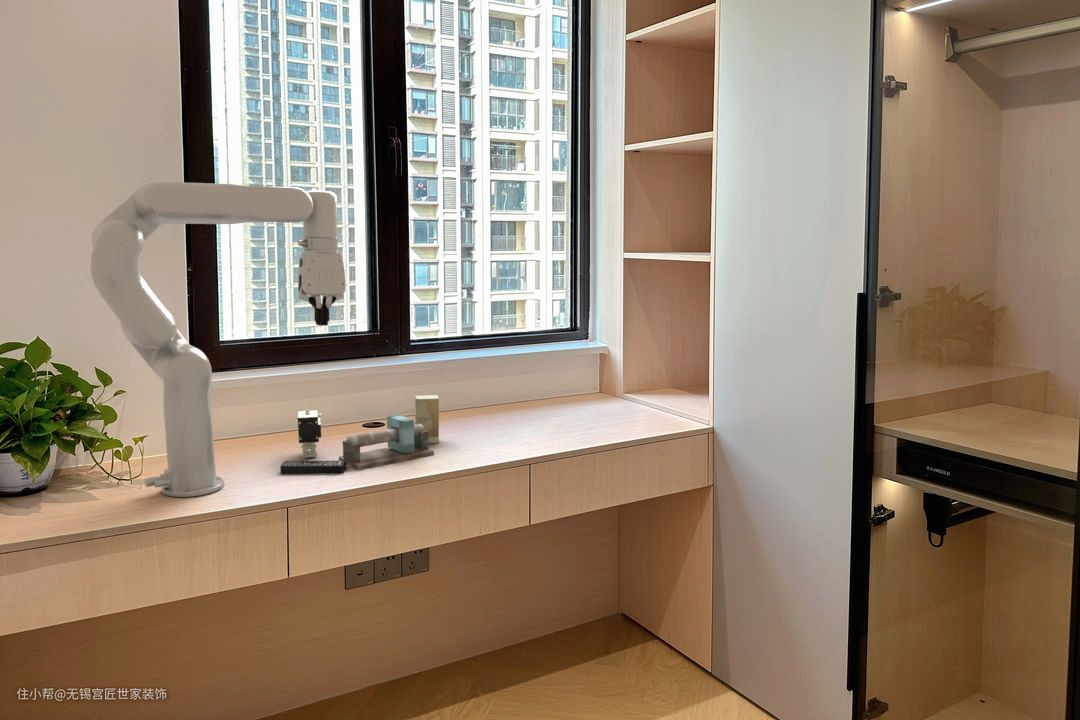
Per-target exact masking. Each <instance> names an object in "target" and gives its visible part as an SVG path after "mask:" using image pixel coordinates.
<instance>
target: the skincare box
mask: <svg viewBox="0 0 1080 720" xmlns="http://www.w3.org/2000/svg"><path fill="white" fill-rule="evenodd" d="M439 413H440V398H439V395H437V394H436V395H434V394H433V395H414V425H418V424H422V425H423V427H424V430H426V431H428V444H439V443H440V439H439V435H440V433H439V432H440V431H439V429H440V428H439V427H440V426H439V425H440V414H439Z"/></svg>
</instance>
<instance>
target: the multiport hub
mask: <svg viewBox="0 0 1080 720" xmlns="http://www.w3.org/2000/svg"><path fill="white" fill-rule="evenodd" d="M279 468H280V474H281V475H310V474H311V475H318V474H319V475H323V474H324V475H327V474H328V475H329V474H330V475H331V474H332V473H333V475H335V474H338V475H340V474H344V473H345V472H346V470H347V464H346V461H339V460H285V461H283V463H281V465H279Z"/></svg>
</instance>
